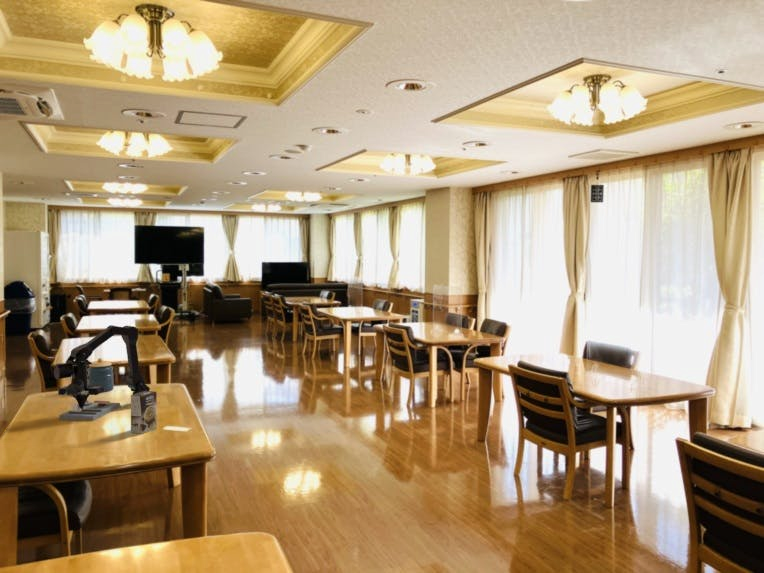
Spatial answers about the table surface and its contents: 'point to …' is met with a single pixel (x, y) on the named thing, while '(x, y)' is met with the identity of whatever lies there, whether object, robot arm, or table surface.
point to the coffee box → (143, 412)
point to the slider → (76, 408)
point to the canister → (101, 375)
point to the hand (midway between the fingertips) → (81, 408)
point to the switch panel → (90, 411)
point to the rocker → (101, 401)
